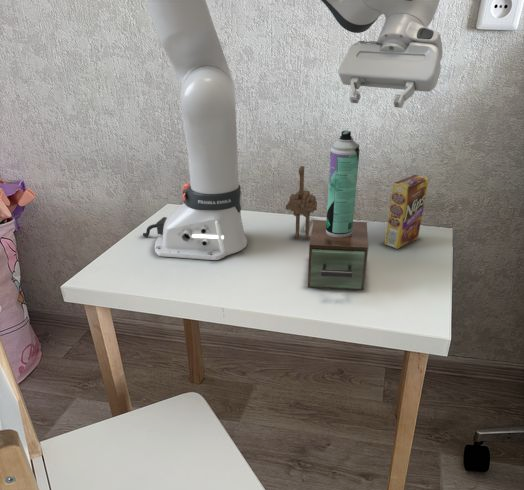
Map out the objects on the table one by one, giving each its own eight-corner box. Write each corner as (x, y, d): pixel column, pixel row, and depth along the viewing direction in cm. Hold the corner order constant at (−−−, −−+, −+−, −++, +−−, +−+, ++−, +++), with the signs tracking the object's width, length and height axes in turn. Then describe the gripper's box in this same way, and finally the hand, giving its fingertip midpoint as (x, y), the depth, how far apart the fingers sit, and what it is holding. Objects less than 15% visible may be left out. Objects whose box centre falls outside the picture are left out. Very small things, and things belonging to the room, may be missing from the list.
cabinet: (363, 290, 110) (368, 247, 105) (307, 287, 111) (309, 244, 106) (362, 262, 121) (366, 221, 116) (311, 259, 123) (313, 219, 117)
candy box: (398, 250, 126) (407, 186, 118) (383, 244, 129) (391, 182, 120) (419, 239, 131) (429, 177, 123) (404, 234, 134) (413, 173, 125)
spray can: (351, 227, 113) (360, 128, 102) (352, 238, 108) (362, 135, 97) (325, 227, 113) (331, 128, 102) (325, 237, 109) (331, 134, 98)
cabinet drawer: (361, 298, 105) (365, 262, 101) (308, 295, 107) (310, 260, 102) (360, 262, 119) (363, 229, 114) (313, 260, 120) (315, 227, 116)
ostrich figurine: (311, 245, 129) (314, 170, 119) (284, 242, 131) (285, 168, 121) (324, 220, 143) (328, 151, 132) (300, 218, 144) (302, 149, 134)
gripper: (348, 29, 109) (324, 88, 108) (447, 32, 100) (421, 97, 99) (356, 52, 115) (332, 108, 114) (450, 57, 106) (425, 118, 104)
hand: (374, 103), depth 106 cm, fingers open, 8 cm apart
